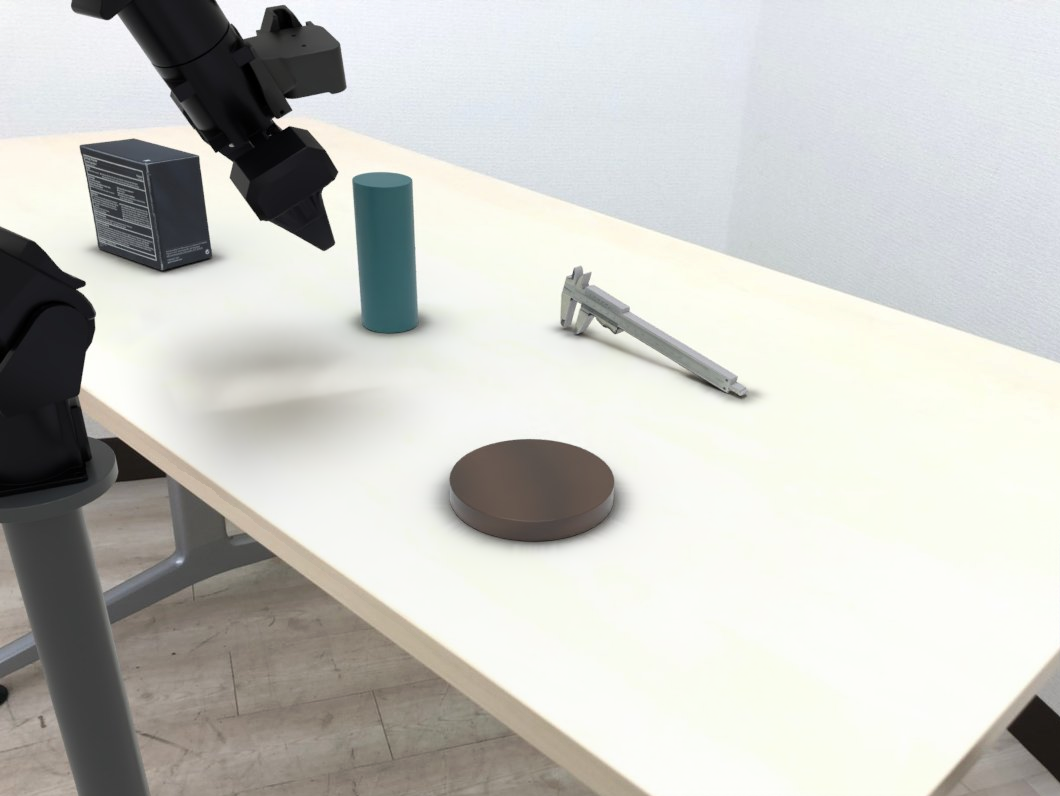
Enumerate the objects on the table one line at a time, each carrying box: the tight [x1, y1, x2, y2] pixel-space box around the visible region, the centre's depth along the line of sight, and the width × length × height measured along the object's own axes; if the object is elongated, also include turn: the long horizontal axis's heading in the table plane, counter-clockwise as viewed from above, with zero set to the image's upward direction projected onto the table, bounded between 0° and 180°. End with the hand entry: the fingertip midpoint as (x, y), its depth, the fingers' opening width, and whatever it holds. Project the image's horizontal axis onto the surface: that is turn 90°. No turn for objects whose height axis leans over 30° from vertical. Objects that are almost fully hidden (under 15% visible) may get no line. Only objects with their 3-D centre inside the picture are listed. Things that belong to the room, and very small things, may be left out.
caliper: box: [559, 265, 749, 396], centre depth 90 cm, size 20×1×6 cm, turn 51°
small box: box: [79, 137, 213, 271], centre depth 104 cm, size 11×6×10 cm, turn 58°
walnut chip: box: [448, 438, 615, 542], centre depth 70 cm, size 11×11×2 cm
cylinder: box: [351, 171, 419, 334], centre depth 92 cm, size 5×5×13 cm
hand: (307, 219), depth 81 cm, fingers open, 9 cm apart
